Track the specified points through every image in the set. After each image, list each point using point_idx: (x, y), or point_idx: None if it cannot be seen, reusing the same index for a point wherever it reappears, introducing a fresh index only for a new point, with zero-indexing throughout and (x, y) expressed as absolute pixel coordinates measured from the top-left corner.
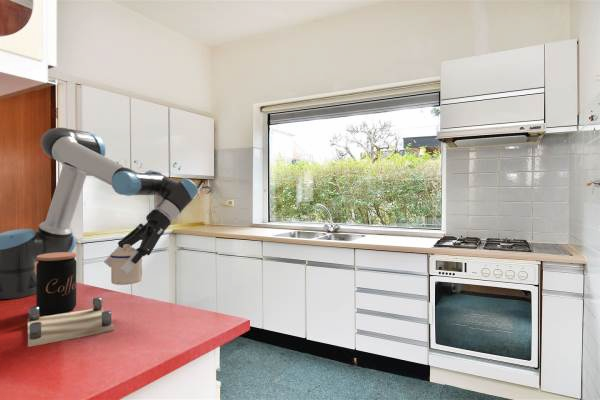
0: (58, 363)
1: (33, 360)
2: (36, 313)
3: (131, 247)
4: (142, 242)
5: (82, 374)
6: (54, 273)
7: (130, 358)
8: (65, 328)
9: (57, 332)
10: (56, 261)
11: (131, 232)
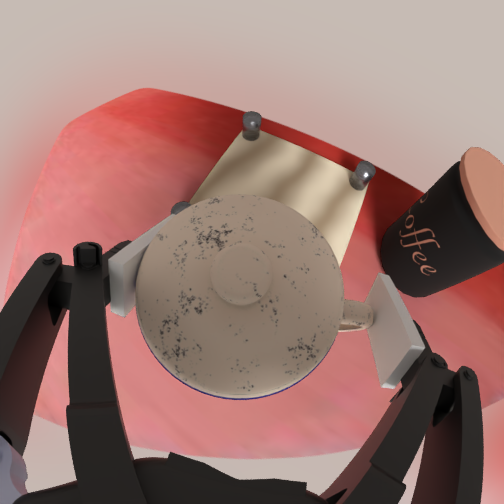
0: (149, 127)
1: (189, 117)
2: (354, 173)
3: (224, 315)
4: (87, 322)
5: (99, 131)
6: (436, 185)
7: (69, 179)
8: (248, 176)
9: (240, 159)
10: (459, 170)
11: (471, 468)
